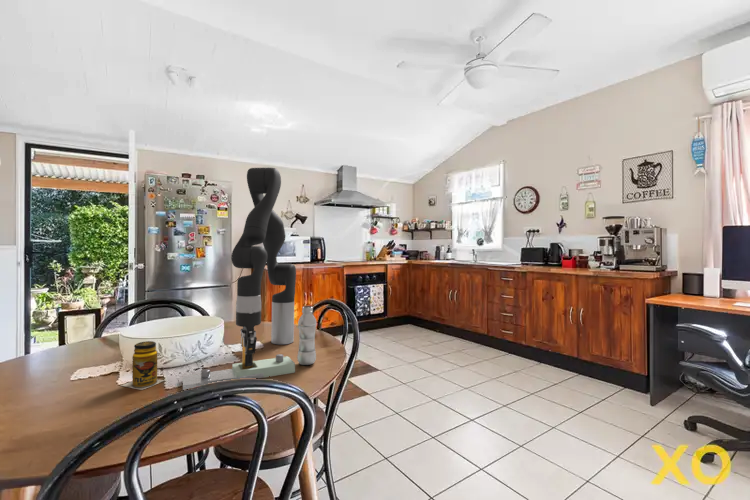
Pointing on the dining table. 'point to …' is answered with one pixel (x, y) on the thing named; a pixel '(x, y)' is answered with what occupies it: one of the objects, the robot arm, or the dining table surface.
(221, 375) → the lower chain end
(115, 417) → the dining table surface
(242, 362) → the pin
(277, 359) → the block
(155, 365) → the condiment
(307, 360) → the plastic bottle
